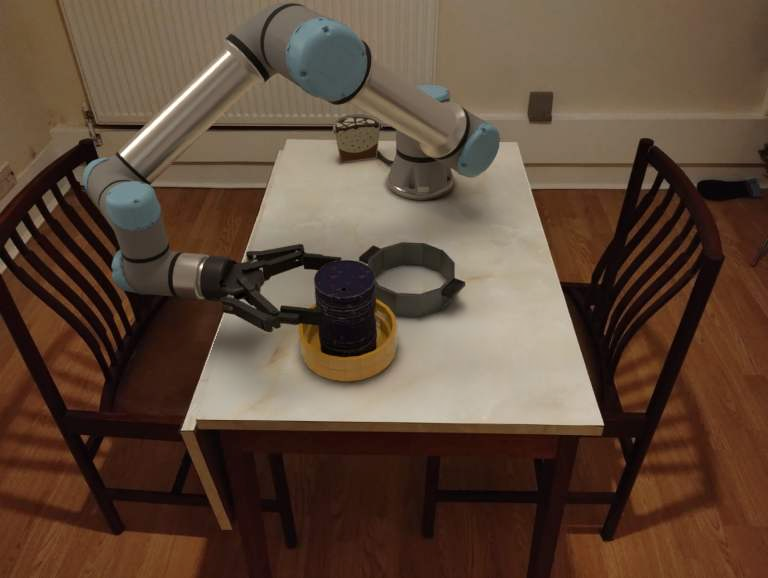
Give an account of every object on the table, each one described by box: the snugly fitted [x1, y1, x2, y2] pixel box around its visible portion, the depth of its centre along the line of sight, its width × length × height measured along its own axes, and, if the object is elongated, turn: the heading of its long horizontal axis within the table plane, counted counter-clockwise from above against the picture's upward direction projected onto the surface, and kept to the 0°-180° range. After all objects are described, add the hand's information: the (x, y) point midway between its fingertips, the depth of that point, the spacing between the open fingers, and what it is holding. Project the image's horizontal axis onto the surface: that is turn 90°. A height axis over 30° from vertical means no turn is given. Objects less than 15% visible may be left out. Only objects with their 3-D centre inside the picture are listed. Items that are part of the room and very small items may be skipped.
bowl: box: [298, 299, 398, 382], centre depth 114 cm, size 16×16×6 cm
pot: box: [358, 241, 466, 318], centre depth 126 cm, size 21×16×5 cm
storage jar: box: [313, 259, 377, 357], centre depth 110 cm, size 10×10×15 cm
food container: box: [332, 113, 383, 164], centre depth 167 cm, size 12×6×10 cm, turn 105°
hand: (332, 290), depth 108 cm, fingers open, 13 cm apart
